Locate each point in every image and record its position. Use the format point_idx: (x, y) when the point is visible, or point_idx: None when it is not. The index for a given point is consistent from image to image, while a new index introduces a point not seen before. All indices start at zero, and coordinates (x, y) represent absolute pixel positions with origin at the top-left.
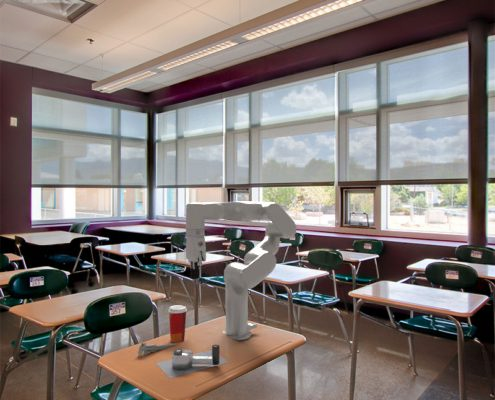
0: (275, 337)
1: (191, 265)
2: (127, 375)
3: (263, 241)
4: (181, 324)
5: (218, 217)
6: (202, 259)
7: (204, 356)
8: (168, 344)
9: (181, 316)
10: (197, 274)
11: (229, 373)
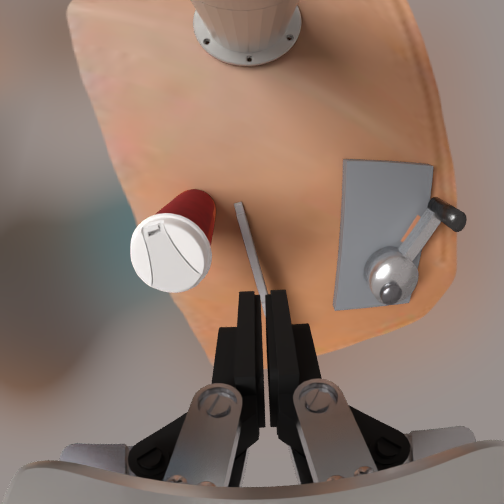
0: None
1: (245, 465)
2: (329, 349)
3: None
4: (211, 228)
5: None
6: (419, 497)
7: (422, 231)
8: (253, 262)
9: (209, 242)
10: (311, 344)
11: (449, 181)
